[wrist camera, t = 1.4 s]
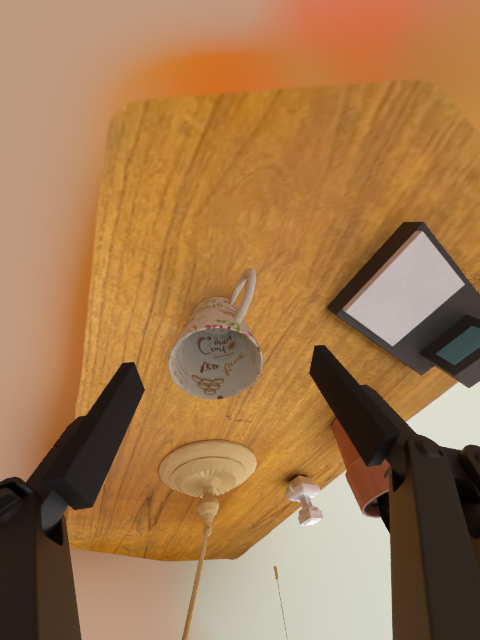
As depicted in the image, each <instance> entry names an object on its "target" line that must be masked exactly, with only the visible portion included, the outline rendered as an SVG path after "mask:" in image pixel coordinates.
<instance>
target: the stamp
mask: <svg viewBox="0 0 480 640" xmlns="http://www.w3.org/2000/svg"><path fill="white" fill-rule="evenodd" d="M319 493H320V488H319V486H318V485H317V484H316V483H315V482H314V481H312V480H311V479H310V478H307V477H303V476H297V477H296V478H294V479H293V480H292V481H290V482H289V483H288V486H287V489H286V493H285V495H286V497H287V499H288V500H290V501H296V502H301V504H302V509H301V510H300V511H299V517H298V518H299V522H300V525H309V526H312V525H314V524H315V523H317V522H318V521H320V520H322V519H323V516H322V513H321V511H319V509H318V508H317V507H314V506H313V505H312V504H311V500H310V499H312V498H313V497H314V496H316V495H318V494H319Z"/></svg>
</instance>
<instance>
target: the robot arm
mask: <svg viewBox="0 0 480 640" xmlns="http://www.w3.org/2000/svg"><path fill="white" fill-rule="evenodd" d="M309 374H310V375H311V377H312V378H313V380H314V382H315V383H316V385H317V387H318V388H319V390H320V391H321V393H322V395H323V396H324V398H325V400H326V401H327V403H328V404H329V406H330V408H331V409H332V411H333V413H334V414H335V416H336V418H337V419H338V421H339V422H340V424H341V426H342V427H343V429H344V431H345V432H346V434H347V435H348V437H349V439H350V440H351V442H352V444H353V445H354V447H355V448H356V450H357V452H358V453H359V455H360V457H361V458H362V460H363V461H364V463H365V465H366V466H367V467H370V466H377V465H381V464H382V462H383V461H384V459H386V460H387V462H388V463H389V464H390V466H389V467H388V469H387V470H386V472H385V474H384V478H385V479H386V478H387V477H388V476H389V506H390V544H391V583H392V585H391V586H392V628H393V640H480V447H479V446H476V445H468V446H465V447H464V448H463V450H462V451H461V450H456V449H451V448H446V447H441V446H439V445H438V444H436V443H435V442H434V441H432V440H431V439H429V438H427V437H425V436H422V435H418V434H416V433H415V432H414V431H413V430H412V429H411V428H410V427H409V426H408V424H407V423H406V422H405V421H404V420H403V419H402V418H401V417H400V416H399V415H398V414H397V413H396V412H395V411H394V410H393V409H392V408H391V407H390V406H389V404H388V403H387V402H386V401H385V400H383V398H382V397H381V396H380V395H379V394H378V393H377V392H376V391H375V390H374V389H372V388H371V387H369V386H368V385H359V384H358V383H357V381H356V380H355V379H354V378H353V377H352V376H351V375H350V373H349V372H348V371H347V370H346V369H345V368H344V367H343V366H342V364H341V363H340V362H339V361H338V360H337V359H336V358H335V357H334V355H333V354H332V353H331V352H330V351H329V350H328V349H327V347H326V346H325V345H318V346H314V351H313V357H312V362H311V367H310V372H309ZM144 391H145V389H144V387H143V384H142V382H141V379H140V376H139V374H138V371H137V368H136V366H135V363H134V362H129V363H122V365H121V366H120V368H119V369H118V370H117V372H116V373H115V375H114V376H113V378H112V379H111V381H110V382H109V383H108V385H107V386H106V388H105V389H104V391H103V392H102V394H101V395H100V396H99V398H98V399H97V401H96V402H95V404H94V405H93V407H92V408H91V409H90V411H89V412H88V414H87V415H86V416H81V417H78V418H77V419H76V420H74V421H73V422H72V423H71V424H70V425H69V426H68V427H67V428H66V430H65V431H64V432H63V434H62V435H61V436H60V439H58V440H57V442H56V443H55V444H54V446H53V448H51V450H50V451H49V452H48V454H47V455H46V456H45V458H44V459H43V460H42V462H41V463H40V464H39V466H38V467H37V469H36V470H35V471H34V473H33V474H32V475H31V476H30V478H29V479H28V480H27V482H26V483H25V482H24V481H23V480H22V479H20V478H18V477H12V478H7V479H5V480H3V481H1V482H0V640H81V633H80V625H79V617H78V610H77V602H76V594H75V587H74V579H73V571H72V564H71V556H70V549H69V541H68V534H67V526H66V519H65V517H64V514H63V513H64V511H65V510H66V508H67V506H68V505H69V506H70V507H72V508H73V509H74V510H78V509H84V508H91V507H93V505H94V503H95V500H96V498H97V496H98V494H99V491H100V489H101V487H102V485H103V482H104V480H105V478H106V476H107V474H108V471H109V469H110V467H111V465H112V462H113V460H114V458H115V456H116V453H117V451H118V449H119V447H120V444H121V442H122V440H123V438H124V435H125V433H126V431H127V429H128V426H129V424H130V422H131V420H132V417H133V415H134V413H135V411H136V408H137V406H138V404H139V402H140V400H141V397H142V395H143V393H144Z"/></svg>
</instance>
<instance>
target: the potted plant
mask: <svg viewBox="0 0 480 640" xmlns="http://www.w3.org/2000/svg"><path fill="white" fill-rule="evenodd" d="M332 429H333V432H334V435H335V438H336V440H337V443H338V446H339V449H340V452H341V455H342V458H343V460H344V463H345V466H346V469H347V472H346V478H347V481H348V483H349V485H350V487H351V489H352V492H353V494H354V496H355V498H356V500H357V502H358V505H359V506H360V509H361V511H362V513H363V514H364V515H366V516H367V517H373V518H379V517H381V518H382V520H383V522H384V524H385V526H386V528H387V529H388V531H389V533H390V506H389V476H388V477H387V478H386V479H385V478H384V474H385V472H386V470H387V469H388V467H389V466H390V464H389V463H388V462H387V460H386V459H384V461H383V462H382V464H381V465H377V466H370V467H367V466H366V465H365V463H364V461H363V460H362V458H361V457H360V455H359V453H358V452H357V450H356V448H355V447H354V445H353V444H352V442H351V440H350V439H349V437H348V435H347V434H346V432H345V431H344V429H343V427H342V426H341V424H340V422H339V421H338V419H337V418H336V419H335V421H334V422H333V425H332Z"/></svg>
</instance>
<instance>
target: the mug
mask: <svg viewBox="0 0 480 640" xmlns="http://www.w3.org/2000/svg"><path fill="white" fill-rule="evenodd" d="M246 281H247V284H246V289H245V293H244V296H243V299H242V301H241V303H240V306H239V308H238V309H237V307H236V306H235V304H234V301H235V300H236V298H237V296H238V294H239V292H240V291H241V289H242V287H243V286H244V284H245V282H246ZM255 286H256V272H255V270H254V269H253V268H249V269H247V270H246V271H245V272H244V273H243V274H242V276H241V277H240V279H239V280H238V281H237V283H236V285H235V288H234V291H233V293H232V296H231V299H230V300H228V299H226V298H223V297H210V298H207V299H205V300H203V301H202V302H201V303H200V304H199V305H198V306H197V308H196V309H195V311H194V312H193V314H192V316H191V317H190V319H189V321H188V322H187V324H186V325H185V327H184V329H183V330H182V332H181V334H180V335H179V337H178V338H177V340H176V342H175V343H174V345H173V347H172V349H171V352H170V355H169V360H168V368H169V373H170V375H171V377H172V379H173V381H174V382H175V383H176V385H177V386H178V387H180V388H181V389H182V390H184V391H185V392H187V393H189V394H191V395H193V396H196V397H199V398H204V399H224V398H229V397H232V396H235V395H237V394H240V393H242V392H243V391H245V390H246V389H248V388H249V387H250V386H251V385H253V383H254V382H255V381H256V380H257V378H258V377H259V375H260V373H261V370H262V366H263V357H262V352H261V349H260V347H259V345H258V343H257V341H256V339H255V337H254V336H253V334H252V332H251V331H250V329H249V327H248V326H247V324H246V322H245V320H244V319H243V317H244V315H245V313H246V311H247V309H248V307H249V305H250V303H251V301H252V298H253V294H254V291H255Z"/></svg>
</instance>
